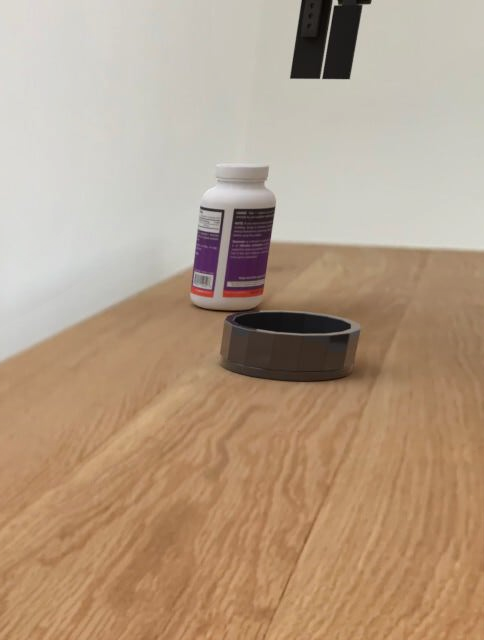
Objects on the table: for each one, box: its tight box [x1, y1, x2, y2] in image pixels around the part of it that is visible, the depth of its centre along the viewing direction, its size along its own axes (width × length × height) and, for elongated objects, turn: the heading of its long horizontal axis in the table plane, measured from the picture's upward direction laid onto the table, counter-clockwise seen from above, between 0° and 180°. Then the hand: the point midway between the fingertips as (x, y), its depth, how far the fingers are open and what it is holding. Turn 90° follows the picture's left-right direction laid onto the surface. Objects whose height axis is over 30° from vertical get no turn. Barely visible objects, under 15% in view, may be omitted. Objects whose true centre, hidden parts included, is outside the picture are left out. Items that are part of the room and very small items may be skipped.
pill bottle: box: [189, 162, 277, 311], centre depth 123 cm, size 8×8×14 cm
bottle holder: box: [219, 309, 361, 382], centre depth 100 cm, size 12×12×4 cm
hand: (321, 79), depth 111 cm, fingers open, 13 cm apart
